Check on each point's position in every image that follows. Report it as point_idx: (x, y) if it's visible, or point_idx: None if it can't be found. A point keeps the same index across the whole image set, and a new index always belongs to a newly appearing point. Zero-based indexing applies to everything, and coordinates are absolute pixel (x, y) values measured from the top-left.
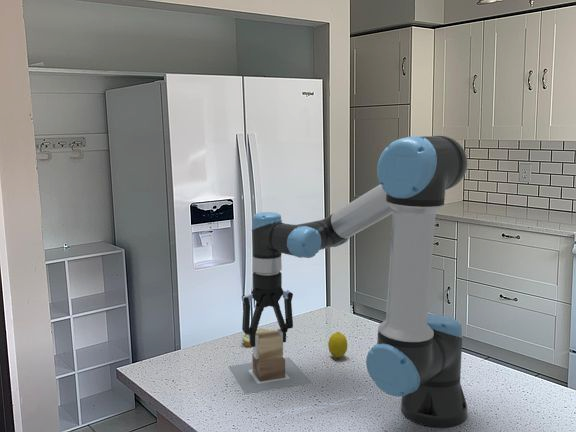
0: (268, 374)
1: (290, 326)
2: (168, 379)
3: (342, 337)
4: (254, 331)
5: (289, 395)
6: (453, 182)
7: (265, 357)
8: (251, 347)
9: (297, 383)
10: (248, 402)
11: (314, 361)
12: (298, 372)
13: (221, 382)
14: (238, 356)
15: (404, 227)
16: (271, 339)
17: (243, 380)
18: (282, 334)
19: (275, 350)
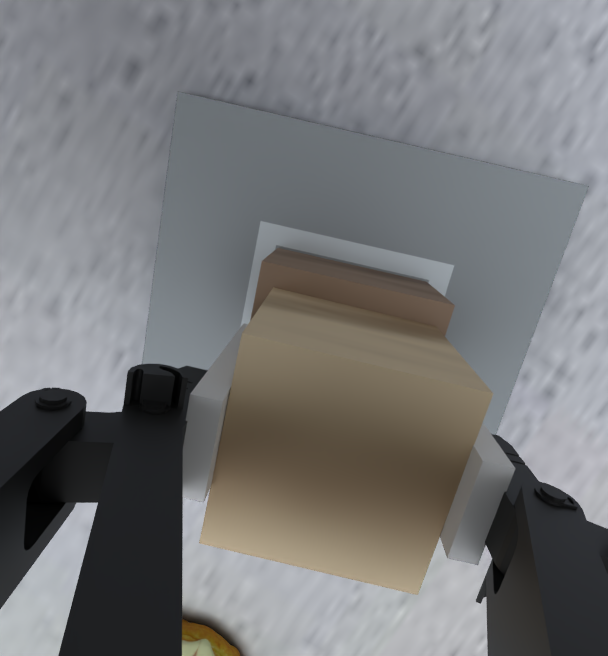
0: (381, 275)
1: (62, 397)
2: None
3: None
4: (548, 511)
5: (351, 80)
6: None
7: (401, 324)
8: (234, 652)
9: (258, 136)
10: (588, 136)
11: (23, 372)
12: (180, 262)
13: (558, 422)
14: (328, 614)
15: None
16: (361, 357)
17: (494, 344)
18: (202, 384)
19: (321, 314)
